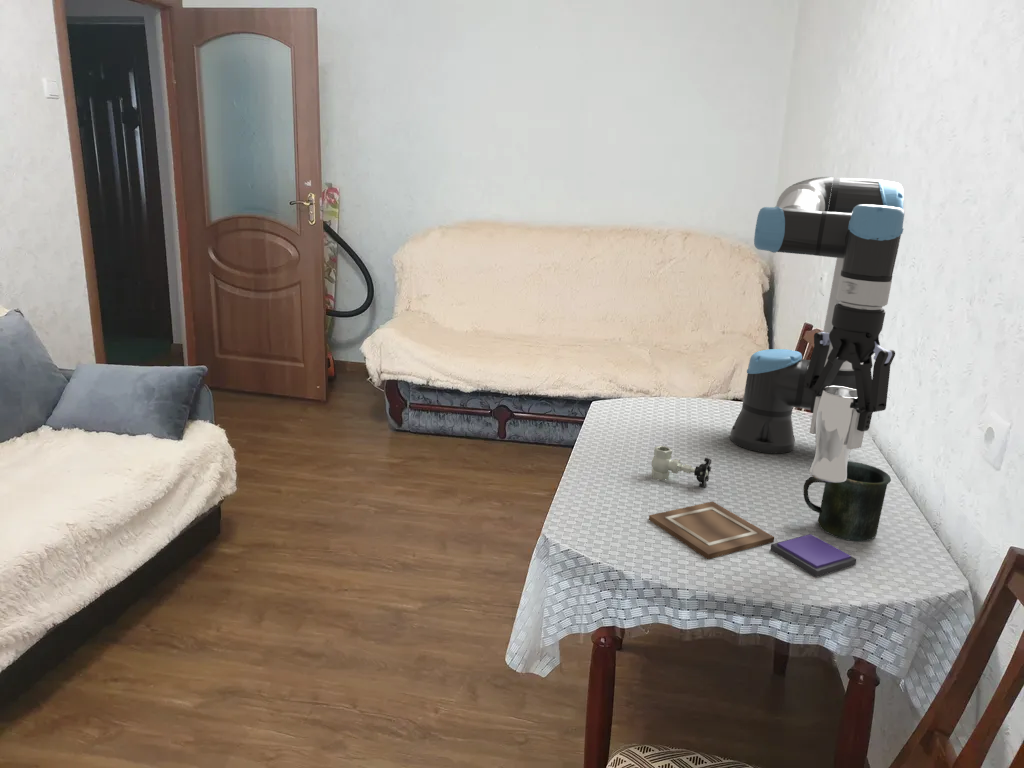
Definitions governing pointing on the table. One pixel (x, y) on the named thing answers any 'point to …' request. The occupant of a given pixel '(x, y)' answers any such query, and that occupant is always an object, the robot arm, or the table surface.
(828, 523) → the mug
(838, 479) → the beer glass
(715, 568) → the table surface
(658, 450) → the valve
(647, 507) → the table surface
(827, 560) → the ink pad
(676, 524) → the board
